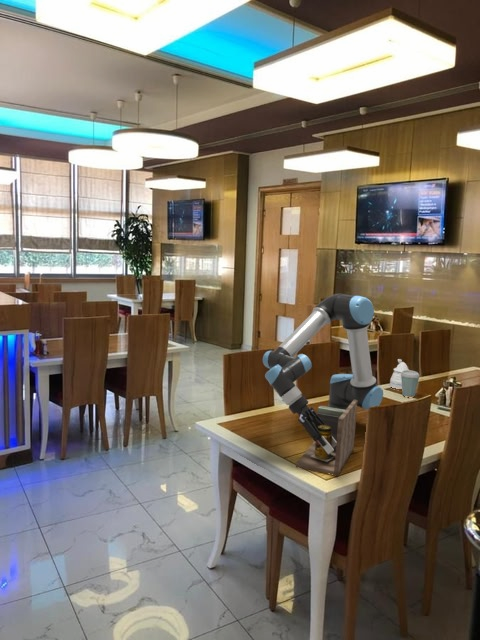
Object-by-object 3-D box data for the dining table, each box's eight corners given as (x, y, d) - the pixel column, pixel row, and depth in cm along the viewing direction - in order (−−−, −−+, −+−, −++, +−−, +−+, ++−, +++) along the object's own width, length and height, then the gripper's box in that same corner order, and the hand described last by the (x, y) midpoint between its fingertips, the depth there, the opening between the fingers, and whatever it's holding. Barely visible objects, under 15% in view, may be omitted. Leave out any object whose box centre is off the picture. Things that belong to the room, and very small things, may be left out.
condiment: (310, 456, 191) (312, 426, 189) (321, 450, 198) (323, 421, 196) (326, 462, 186) (329, 431, 185) (337, 455, 193) (340, 426, 191)
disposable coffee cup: (420, 399, 286) (422, 374, 284) (401, 398, 286) (404, 373, 284) (414, 394, 297) (416, 370, 295) (396, 393, 297) (398, 369, 295)
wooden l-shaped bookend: (315, 442, 212) (319, 393, 209) (353, 450, 206) (357, 400, 203) (295, 466, 187) (299, 411, 184) (337, 476, 180) (342, 419, 177)
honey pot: (391, 389, 306) (393, 361, 303) (388, 384, 318) (391, 357, 316) (412, 391, 304) (415, 363, 301) (409, 386, 316) (412, 358, 314)
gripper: (295, 399, 204) (331, 446, 199) (280, 412, 186) (319, 463, 182) (309, 389, 201) (346, 435, 196) (294, 401, 184) (334, 452, 179)
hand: (333, 449), depth 189 cm, fingers closed on condiment, 6 cm apart
